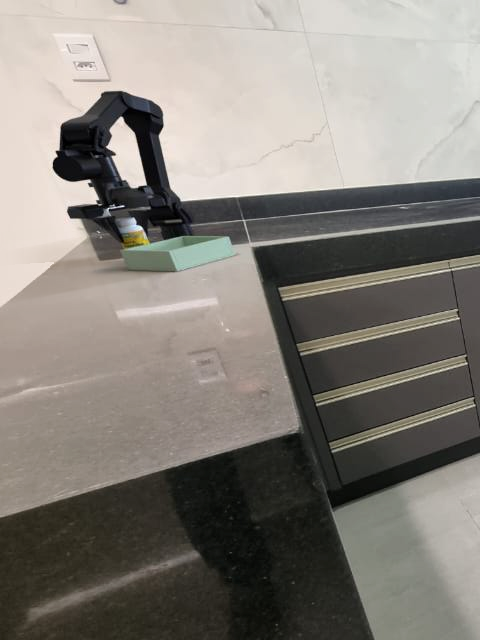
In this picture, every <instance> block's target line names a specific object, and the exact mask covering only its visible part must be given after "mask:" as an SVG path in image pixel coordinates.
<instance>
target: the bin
mask: <svg viewBox="0 0 480 640" xmlns="http://www.w3.org/2000/svg"><path fill="white" fill-rule="evenodd" d="M149 243H150V244H146V245H141V246H137V247H132V248H128V249H124V248H123V249H120V250H119V252H120V254H121V256H122V258H123V260H124V263H125V265H126V266H127V269H128V270H129V271H151V272H153V271H155V272H156V271H157V272H158V271H159V272H181V271H183V270H188V269H191V268H195V267H198V266H202V265H205V264H209V263H212V262H216V261H219V260H222V259H226V258H230V257H234V256H236V252H235V250H234V247H233V244H232V242H231V239H230V237H229V236H215V235H214V236H209V235H208V236H207V235H205V236H204V235H199V236H198V235H195V236H181V237H177V238H172V239H168V240H164V239H162V240H160V241H155V242H149Z"/></svg>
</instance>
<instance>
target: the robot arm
mask: <svg viewBox="0 0 480 640" xmlns="http://www.w3.org/2000/svg"><path fill="white" fill-rule="evenodd" d="M121 118H122V120H123V122H124V124H125V125H126V126H127V127H128V128H129V129H130V130H131V131H132V133H134V136H135V140H136V145H137V149H138V153H139V158H140V162H141V166H142V167H141V168H142V171H143V176H144V179H145V183H146V184H144V185H139V186H138V187H131V185H130V183H129V182H128V181H127V179H122V176H121V174H120V172H119V170H118V167H117V165H116V163H115V161H114V159H113V157H115V156H117V153H116V152H115V151H114V150H111V149H110V148H108V146H109V144H110V142H111V140H112V138H113V134H112V133H111V131H110V130H111V129H112V127H113V126H115V124H116V123H117V121H118V120H120V119H121ZM164 124H165V123H164V112H163V110H162V108H161V106H160V105H159V104H157V103H156V102H154V101H153V100H151V99H148V98H146V97H141V96H138V95H134V94H131V93H129V92H128V91H124V90H105V91H103V92H101V94H100V98H98V99H97V100H96V101H95V102H94V103H93V104H92V106H91V107H90V108H89V109H88V110H87V111H86V112H85V113H84V114H83V115H80V116H77V117H73V118H70V119H68V120H66V121H64V122H62V123H61V125H60V128H59V129H60V130H59V148H58V149H57V150H55V154H56V157H55V158H54V159H53V160H52V170H53V172H54V173H55V174H56V176H58V177H59V178H60V179H62V180H64V181H66V182H69V183H78V182H83V181H89V182H87V185H88V187H89V188H93V190H94V192H95V194H96V196H97V198H98V199H96V200H95V202H96V203H84V204H75V205H69V206H67V209H66V213H67V215H68V217H69V219H70V220H74V219H75V220H86V221H92V222H94V223H95V224H96V225H97V226H99V227H100V228H101V229H103V230H104V231H105V232H107V233H108V234H109V235H110V236H111V237H112V238H113V239H115V240H116V241H117V242H118V243H119V244H121V243H124V240H123V237H122V235H121V233H120V231H119V229H118V228H119V227H118V226H117V225H116V223H115V220H116V218H117V217H116V215H111V213H110V212H115V211H122V210H127V209H128V210H127V213H128V215H129V216H130V218H135V220H136V225H139V226H141V227H142V228H143V230H144V232H145V234H146V236H147V238H148V237H149V222H150V224H151V225H152V227H159V228H160V230H161V231H160V235H161V237H162V240H168V239H172V238H177V237H181V236H196V235H195V233H194V230H193V228H192V225H191V224H193V223H195V215H194V214H193V212H191V211H190V210H189V209H188V208H187V207H186V206H184V205H183V204H182V203H183V202H182V199H181V198H180V197H179V196H178V195H177V194H176V192H174V190H173V189H172V188H171V185H170V179H169V175H168V171H167V167H166V162H165V158H164V153H163V149H162V143H161V140H160V134H161V133H162V131H163V129H164V127H165V125H164Z"/></svg>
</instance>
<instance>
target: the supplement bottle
mask: <svg viewBox="0 0 480 640" xmlns="http://www.w3.org/2000/svg"><path fill="white" fill-rule="evenodd" d="M115 223H116V225H117V227H118V229H119V231H120V233H121V235H122V237H123V240H124V243H120V244H121V246H122V248H123V250H124V249H128V248H132V247H137V246H141V245H146V244H150V243H151V242H150V241H149V239H148V238H147V236H146V234H145V232H144V230H143V228H142V227H141V226H139V225H136V220H135V218H131V217H122V218H117V219H115Z"/></svg>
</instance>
